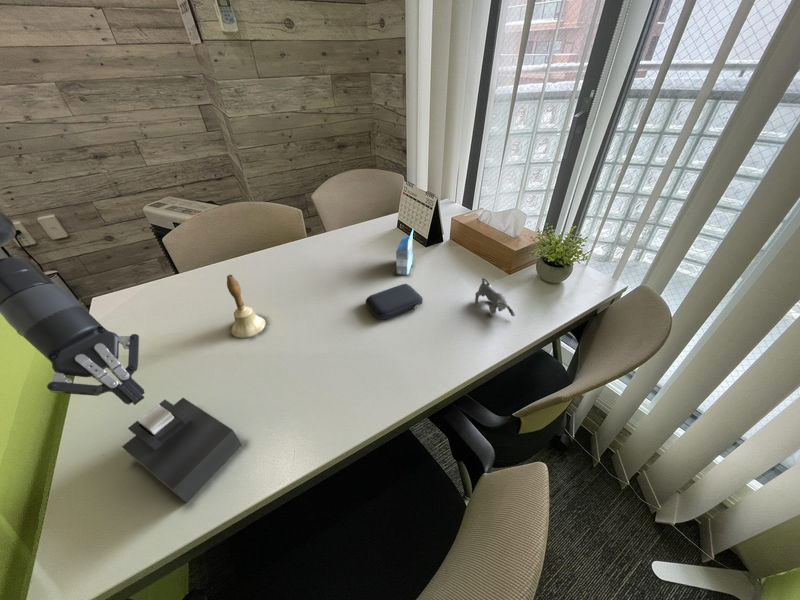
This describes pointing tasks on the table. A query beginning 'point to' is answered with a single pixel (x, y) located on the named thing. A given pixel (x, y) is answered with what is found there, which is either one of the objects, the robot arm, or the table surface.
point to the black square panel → (183, 448)
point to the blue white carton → (404, 255)
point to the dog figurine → (492, 298)
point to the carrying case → (394, 301)
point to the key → (156, 419)
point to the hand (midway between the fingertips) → (139, 400)
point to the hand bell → (243, 313)
